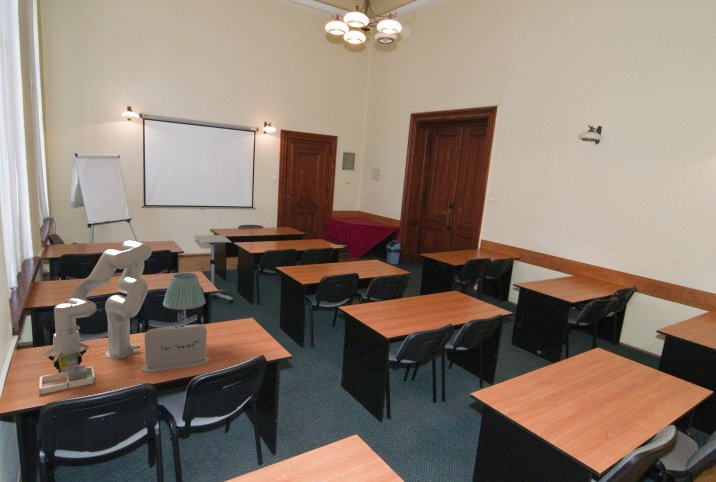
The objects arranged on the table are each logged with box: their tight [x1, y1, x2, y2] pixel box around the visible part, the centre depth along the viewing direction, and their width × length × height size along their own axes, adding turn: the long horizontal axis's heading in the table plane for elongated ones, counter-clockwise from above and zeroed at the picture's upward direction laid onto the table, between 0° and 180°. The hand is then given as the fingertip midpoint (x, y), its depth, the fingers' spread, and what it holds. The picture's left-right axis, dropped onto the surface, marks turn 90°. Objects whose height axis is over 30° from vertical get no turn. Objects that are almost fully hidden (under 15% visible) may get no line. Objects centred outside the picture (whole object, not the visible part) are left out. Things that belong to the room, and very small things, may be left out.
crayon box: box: [57, 353, 80, 373], centre depth 181 cm, size 7×3×12 cm, turn 149°
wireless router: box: [140, 323, 210, 373], centre depth 197 cm, size 31×10×20 cm, turn 117°
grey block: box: [75, 365, 87, 381], centre depth 176 cm, size 4×6×5 cm, turn 37°
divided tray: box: [38, 365, 96, 395], centre depth 174 cm, size 19×12×3 cm, turn 127°
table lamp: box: [162, 272, 207, 326], centre depth 217 cm, size 22×22×40 cm
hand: (68, 365), depth 182 cm, fingers closed on crayon box, 7 cm apart
